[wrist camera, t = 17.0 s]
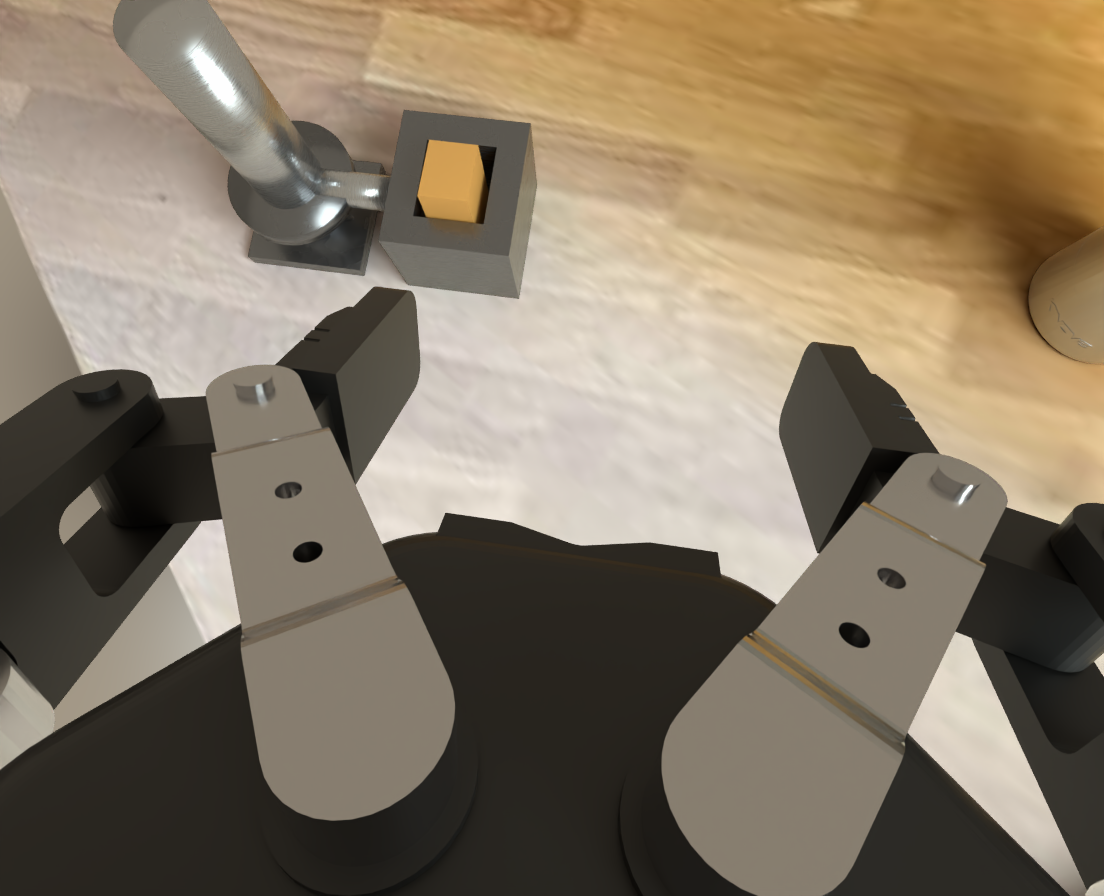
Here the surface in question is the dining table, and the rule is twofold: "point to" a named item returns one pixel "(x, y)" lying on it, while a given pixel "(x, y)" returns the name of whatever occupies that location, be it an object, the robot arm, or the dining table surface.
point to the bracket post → (333, 165)
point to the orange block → (453, 183)
